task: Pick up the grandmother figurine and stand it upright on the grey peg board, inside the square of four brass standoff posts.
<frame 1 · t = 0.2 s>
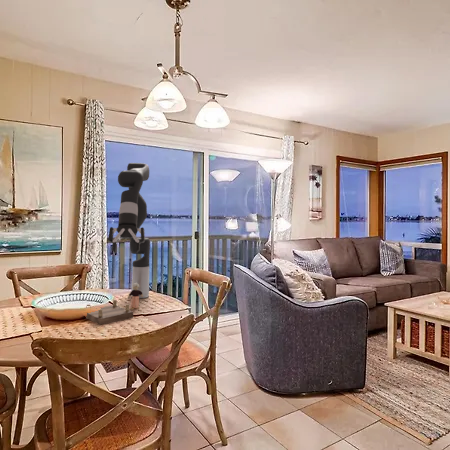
hand: (125, 252, 145), 31 cm above the table, tool tilted 20°, fingers open, 8 cm apart
grandmother figurine: (135, 308, 176), on the table
grey peg board: (107, 316, 161), on the table
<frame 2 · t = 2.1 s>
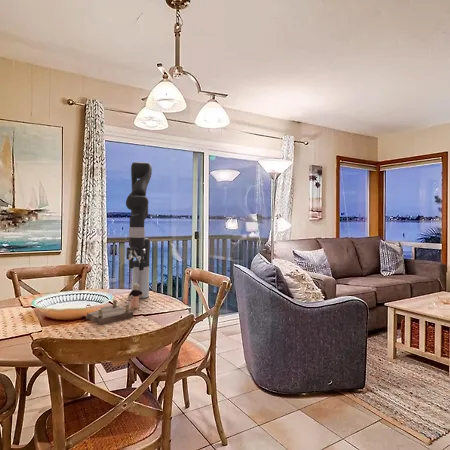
hand: (136, 269, 175), 19 cm above the table, tool pointing down, fingers open, 8 cm apart
nothing on the table moved.
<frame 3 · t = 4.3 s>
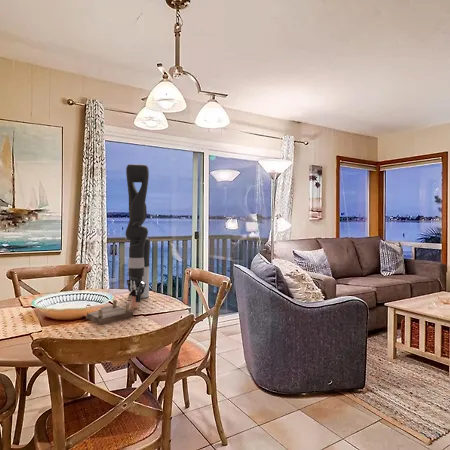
hand: (135, 301, 175), 4 cm above the table, tool pointing down, fingers closed on grandmother figurine, 3 cm apart
grandmother figurine: (135, 308, 176), on the table, touching gripper
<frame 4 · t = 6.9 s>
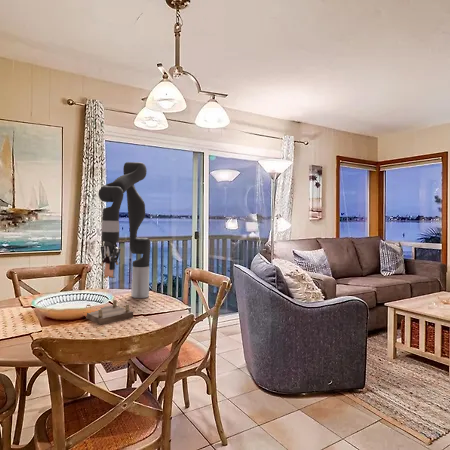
hand: (109, 269, 160), 22 cm above the table, tool pointing down, fingers closed on grandmother figurine, 3 cm apart
grandmother figurine: (109, 277, 160), point 18 cm above the table, touching gripper
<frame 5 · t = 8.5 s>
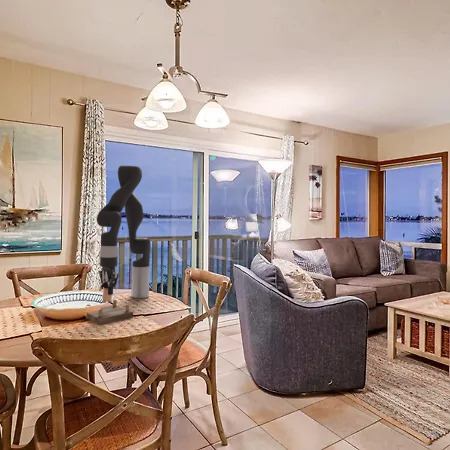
hand: (108, 293, 160), 10 cm above the table, tool pointing down, fingers closed on grandmother figurine, 3 cm apart
grandmother figurine: (108, 302, 160), point 7 cm above the table, touching gripper
when the fingers open (8 cm above the table, at t = 9.8 s): grandmother figurine drops 1 cm, resting on grey peg board.
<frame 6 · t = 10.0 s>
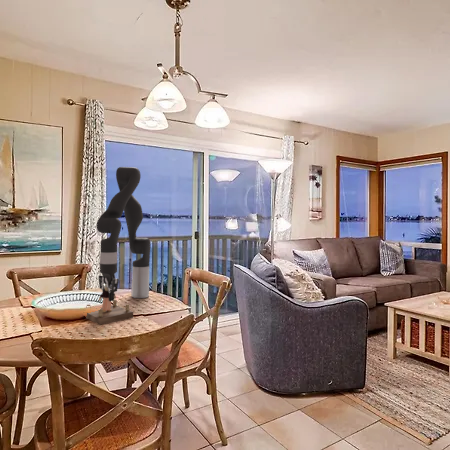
hand: (108, 299, 160), 8 cm above the table, tool pointing down, fingers open, 5 cm apart
grandmother figurine: (107, 311, 161), point 2 cm above the table, touching grey peg board
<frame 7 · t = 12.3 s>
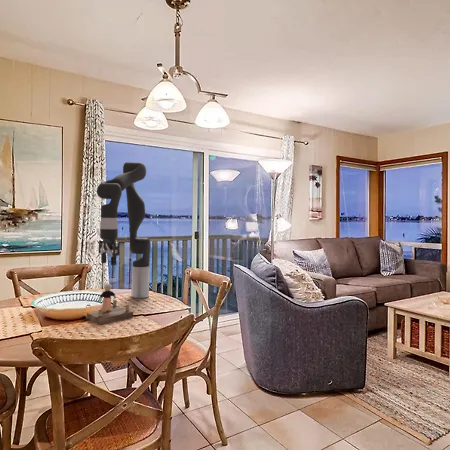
hand: (108, 264, 160), 24 cm above the table, tool pointing down, fingers open, 8 cm apart
nothing on the table moved.
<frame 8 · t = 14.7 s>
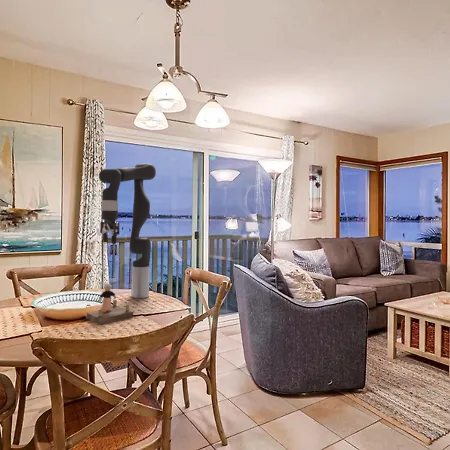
hand: (109, 242, 175), 32 cm above the table, tool pointing down, fingers open, 8 cm apart
nothing on the table moved.
at the end: grandmother figurine 0.5 cm off-centre on the grey peg board, point 2.3 cm above the grey peg board's base; grandmother figurine tilted 0°; the gripper is holding nothing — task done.
